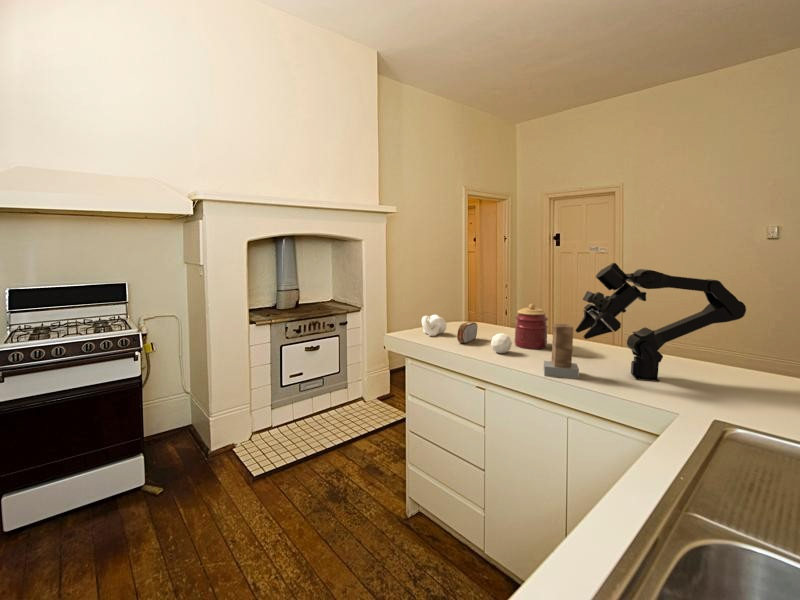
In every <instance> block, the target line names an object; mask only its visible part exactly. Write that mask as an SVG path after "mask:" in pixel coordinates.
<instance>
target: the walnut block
mask: <svg viewBox="0 0 800 600" xmlns="http://www.w3.org/2000/svg"><path fill="white" fill-rule="evenodd" d="M573 340H574V326H572V325H571V324H570V323H553V324H552V347H551V361H552V364H553V365H554V367H567V368H571V364H572V363H573V362H572V361H573V346H574V345H573V343H574V341H573Z"/></svg>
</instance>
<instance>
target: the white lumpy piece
mask: <svg viewBox="0 0 800 600" xmlns="http://www.w3.org/2000/svg"><path fill="white" fill-rule="evenodd" d="M421 325H422V328H423V329H422V330H423V333H424V334H425V335H429V336H430V337H435V336H437V335H439V334H444V333H445V332H446V330H447V326H448V325H447V322H446V320H445V319H444V318H443V317H442V316H439V315H438V314H432V315H430V316H429V315H424V316H422V318H421Z"/></svg>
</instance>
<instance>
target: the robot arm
mask: <svg viewBox="0 0 800 600" xmlns="http://www.w3.org/2000/svg"><path fill="white" fill-rule="evenodd" d="M595 278H596V279H597V280H598V281H599V282H600V283H601V284H602V285H603V286H604V287H605V288H606V289H607V290H608V291H611V290H613V291H614V292H613V293H612V294H611V295H606V296H605V294H604V293H602V292H599V291H597V292H595V293H594V292H592V291H589V290H587V291H586V292H585V294H584V296H583V298H582V300H583V301H585V302H587V303H588V304H587V303H586V305H585V306H584V307H583V317H582V319H581V321H580V323H579V324H578V326H577V327H576V328H575V332H576V333H581V332H583V331H586V330H587V331H586V332H585V334H584V335H583V338H584V339H585V340H588V339H591V338H594V337H599V336H602V335H605V334H608V333H613V331H614V332H615V333H616V332H617V331H618V330H619V329H621V327H622V323H621V322H620V321H619V320H618V318H616V317H618V315H620V314H621V313H623V314H625V313H626V312H627V310H626V309H627V308H629V306H630V305H632V304H633V303H634V302H635V301H636V300H637V299H638V300H640V301H642V302H646V301H647V292H646V291H641V290H640V289H639V288H641V289H646V290H658V289H659V290H660V289H667V288H668V289H670V288H671V289H677V290H687V291H695V292H702V293H704V296H705V297H706V300H707V302H708V304H707V305H706V306H705V307H704V308H703V309H702V310H701V311H699V312H697V313H694V314H692V315H689V316H687V317H684V318H682V319H679V320H677V321H675V322H672V323H669V324H667V325H664V326H663V327H659V328H657V329H653V330H652V329H650V328H649V327H646V326H645V327H641V329H639V330H637V331H632V334H630V335H629V336H628V337H627V340H626V345H627V347H628V349H629V350H631V353H632V355H633V360H632V361H631V363H630V364H631V366H630V374H631V376H632V377H633V378H634V380H639V381H640V380H642V381H651V382H652V381H653V382H654V381H655V382H659V381H660V378H659V377H658V376H659V367H660V366H659V364H660V363H661V362H662V359H663V357H664V356H663V353H662V354H661V353H660V351H659V350H660V349H661V348H662V347H663V346H664V345H665V344H666V343H668V342H671V341H673V340H675V339H678V338H680V337H684V336H686V335H688V334H690V333H693V332H695V331H699V330H701V329H703V328H705V327H708V326H710V325H712V324H721V323H722V324H723V323H728V322H734V321H737V320H740V319H742V318H744V317H745V314H746V313H747V307H746V305H745V303H744V302H742V301H741V300H739V299H738V298H737V297H736V296H735V295H734V294H733V293H732V292H731V291H730V290H728V289H727V288H726V287H725V286H724V285H723V283H722V282H721V281H720V280H717V279H712V278H706V279H705V278H704V279H703V278H696V277H694V278H693V277H685V276H676V275H669V274H666V273H663V272H660V271H657V270H652V269H645V268H639V269H638V268H637V270H635V271H634V272H631V273H625V272H624V271H623V270H622V269H621V267H620V266H619V265H618V264H617V263H615V262H612V263H610V264H609V265H607V266H606V267H604V268H602V269H600V270H599V271H598V272H597V274H596V275H595ZM629 283H632V284H633V285H631V284H629Z"/></svg>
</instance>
